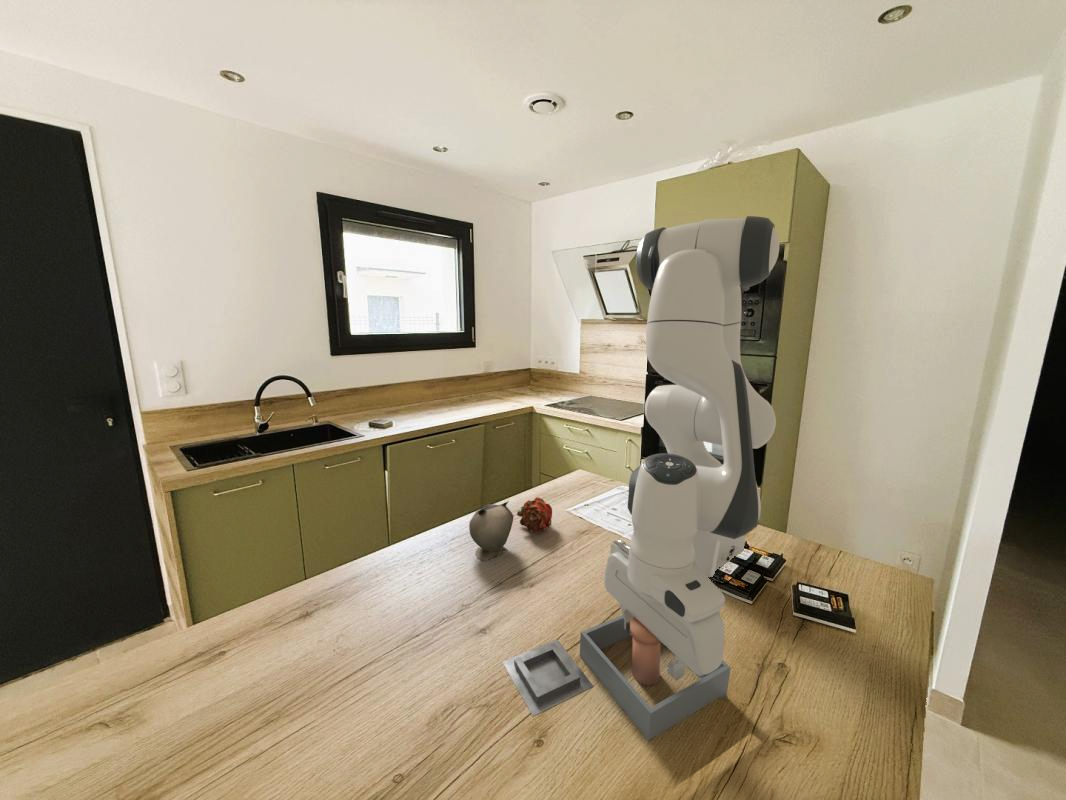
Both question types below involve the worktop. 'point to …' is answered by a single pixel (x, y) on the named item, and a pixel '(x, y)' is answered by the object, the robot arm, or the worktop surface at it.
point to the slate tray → (628, 698)
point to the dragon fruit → (536, 515)
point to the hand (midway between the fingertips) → (651, 651)
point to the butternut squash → (644, 654)
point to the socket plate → (546, 676)
